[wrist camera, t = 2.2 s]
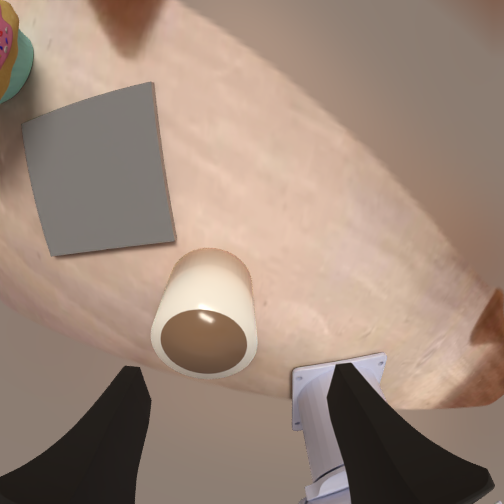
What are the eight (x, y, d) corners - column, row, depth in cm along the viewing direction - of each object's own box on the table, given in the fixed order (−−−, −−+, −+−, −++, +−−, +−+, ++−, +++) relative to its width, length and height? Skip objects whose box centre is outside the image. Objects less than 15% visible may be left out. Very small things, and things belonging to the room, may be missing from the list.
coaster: (176, 237, 17) (174, 241, 17) (55, 252, 17) (51, 256, 17) (154, 82, 14) (151, 81, 13) (26, 123, 14) (21, 124, 13)
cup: (255, 314, 20) (261, 376, 15) (179, 320, 20) (166, 381, 15) (248, 243, 18) (252, 295, 13) (162, 252, 18) (137, 304, 13)
